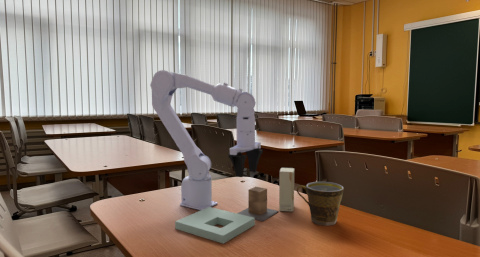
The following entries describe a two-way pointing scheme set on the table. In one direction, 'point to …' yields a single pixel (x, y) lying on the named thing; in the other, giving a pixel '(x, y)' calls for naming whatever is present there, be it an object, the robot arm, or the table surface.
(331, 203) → the ceramic cup
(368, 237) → the table surface
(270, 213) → the rubber mat
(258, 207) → the walnut block
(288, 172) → the skincare box
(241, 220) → the pocket board
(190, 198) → the robot arm
